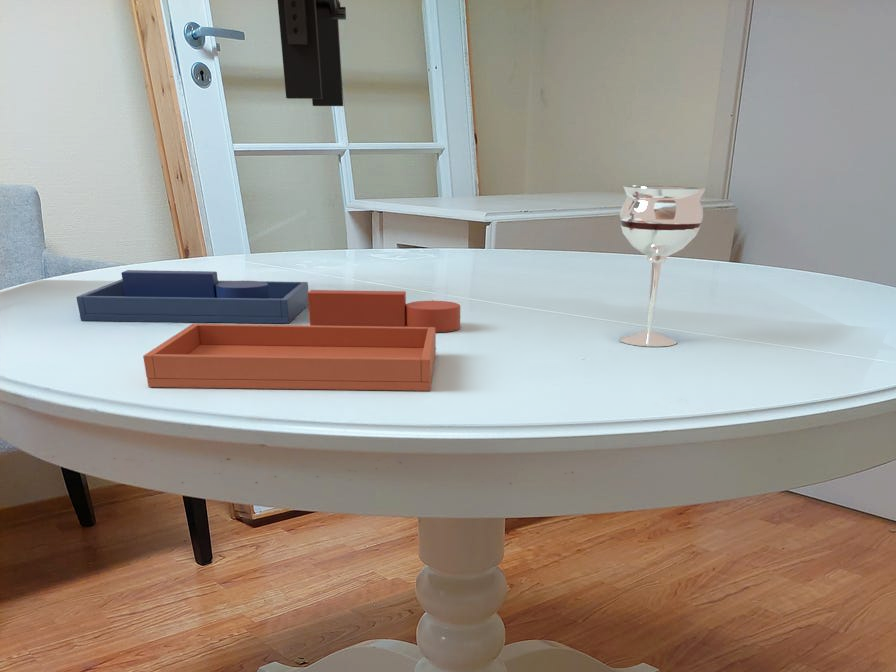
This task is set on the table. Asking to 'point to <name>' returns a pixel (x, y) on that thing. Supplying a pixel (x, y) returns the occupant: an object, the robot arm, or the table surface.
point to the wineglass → (659, 236)
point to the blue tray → (194, 306)
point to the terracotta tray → (295, 357)
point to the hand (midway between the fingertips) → (317, 103)
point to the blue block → (189, 285)
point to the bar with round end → (380, 310)
